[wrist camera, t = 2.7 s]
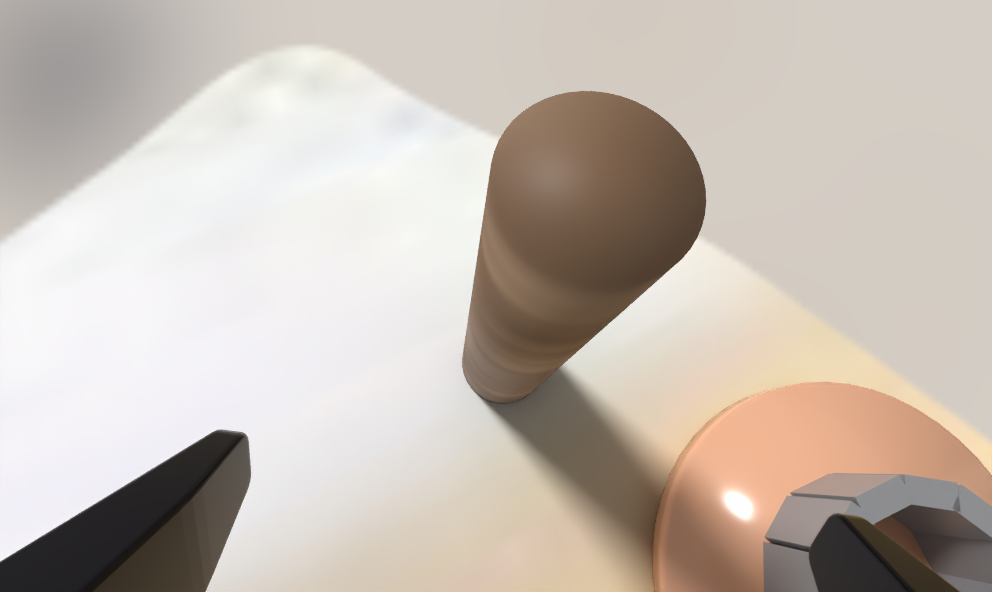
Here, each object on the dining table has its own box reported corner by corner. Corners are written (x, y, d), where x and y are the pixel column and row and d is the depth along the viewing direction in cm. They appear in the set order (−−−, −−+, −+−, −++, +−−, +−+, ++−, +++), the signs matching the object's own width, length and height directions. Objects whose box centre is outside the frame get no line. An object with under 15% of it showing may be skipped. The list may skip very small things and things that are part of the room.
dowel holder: (1094, 692, 18) (1278, 756, 14) (775, 902, 15) (890, 1054, 11) (880, 338, 21) (981, 308, 17) (589, 465, 19) (628, 464, 15)
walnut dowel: (556, 385, 20) (744, 244, 7) (479, 415, 19) (542, 319, 7) (524, 311, 20) (646, 70, 8) (450, 338, 20) (457, 123, 7)
